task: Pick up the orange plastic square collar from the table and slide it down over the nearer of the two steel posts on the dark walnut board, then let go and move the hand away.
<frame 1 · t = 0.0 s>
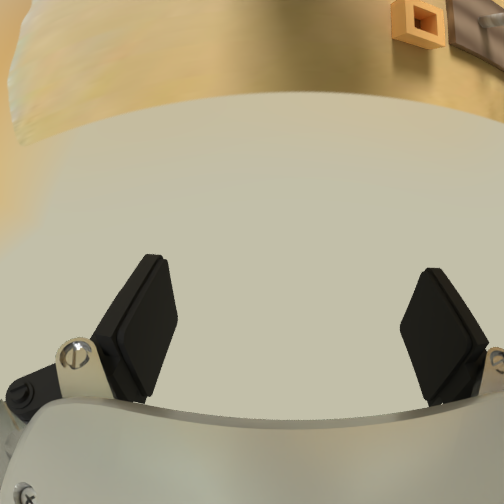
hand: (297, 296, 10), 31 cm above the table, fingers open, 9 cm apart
post board: (495, 35, 21), on the table
collar: (410, 26, 25), on the table
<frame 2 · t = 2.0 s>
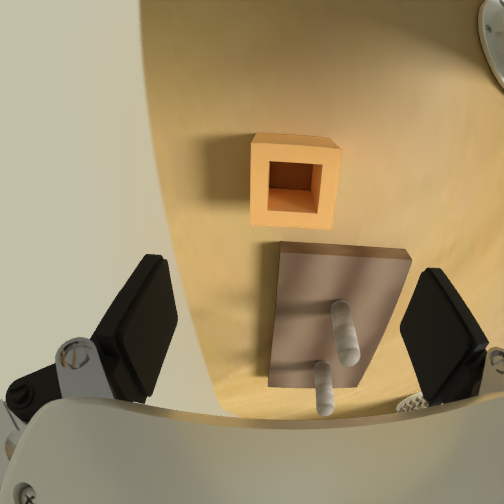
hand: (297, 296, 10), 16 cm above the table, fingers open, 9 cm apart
post board: (328, 326, 32), on the table
decorative candle: (415, 400, 43), on the table
collar: (291, 169, 23), on the table
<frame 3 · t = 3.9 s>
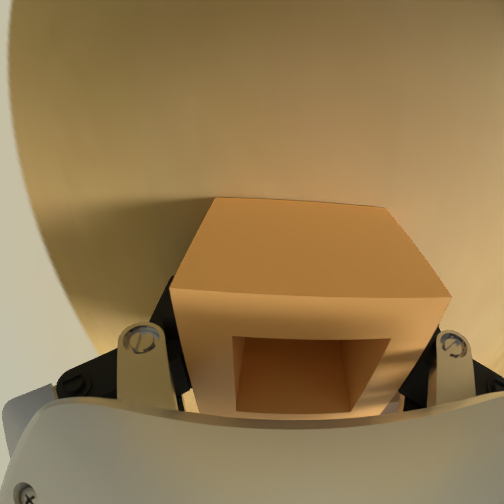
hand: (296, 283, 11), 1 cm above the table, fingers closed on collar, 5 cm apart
collar: (295, 274, 11), on the table, touching gripper
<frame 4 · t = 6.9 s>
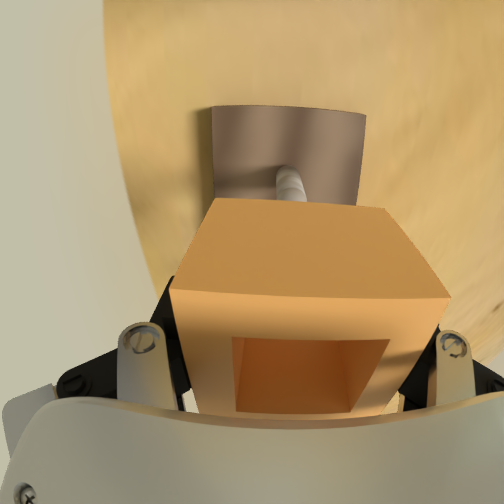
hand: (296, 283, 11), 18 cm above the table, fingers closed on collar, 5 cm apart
post board: (284, 217, 28), on the table
collar: (295, 274, 11), point 17 cm above the table, touching gripper
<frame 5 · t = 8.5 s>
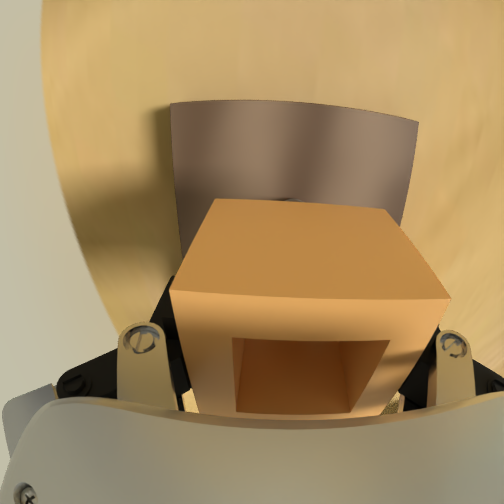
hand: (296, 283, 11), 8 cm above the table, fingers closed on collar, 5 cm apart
post board: (285, 268, 20), on the table
collar: (295, 275, 11), point 7 cm above the table, touching gripper
when the fingers open (4 cm above the table, at t = 9.8 s): collar drops 1 cm, resting on post board.
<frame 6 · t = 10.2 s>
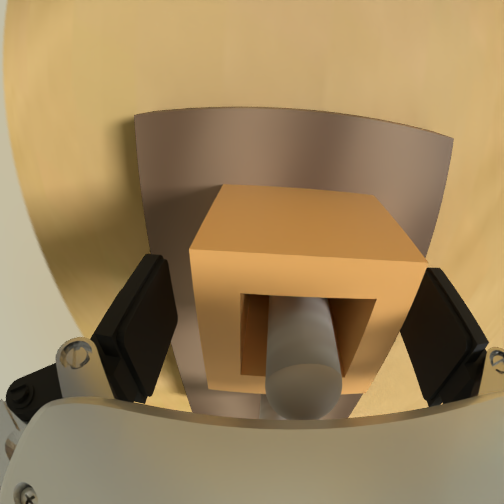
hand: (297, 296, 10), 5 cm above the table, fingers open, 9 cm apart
post board: (283, 310, 17), on the table
collar: (294, 255, 12), point 2 cm above the table, touching post board
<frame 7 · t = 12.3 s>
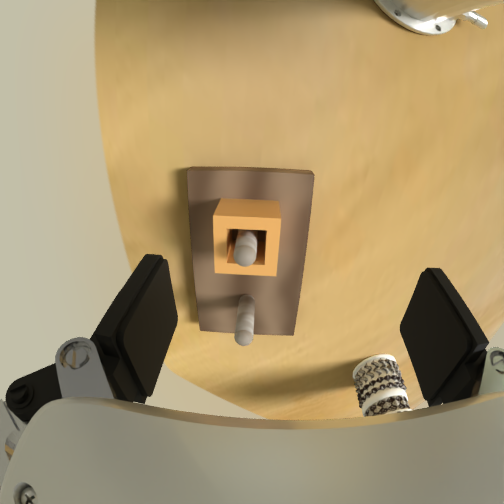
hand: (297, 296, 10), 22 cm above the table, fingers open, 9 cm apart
post board: (248, 257, 35), on the table
decorative candle: (374, 367, 45), on the table
collar: (248, 225, 31), point 2 cm above the table, touching post board
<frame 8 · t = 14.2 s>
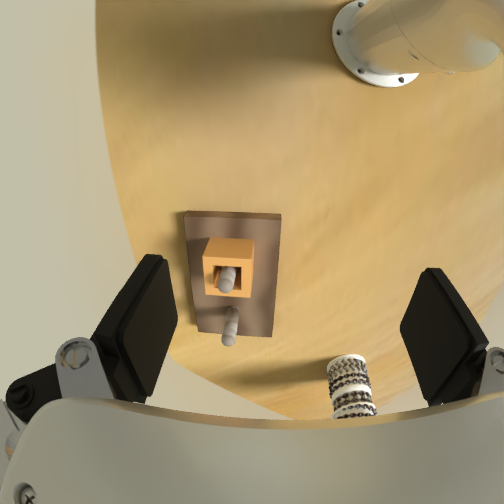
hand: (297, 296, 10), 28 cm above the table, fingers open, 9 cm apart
post board: (234, 277, 45), on the table
decorative candle: (345, 365, 55), on the table
collar: (232, 257, 40), point 2 cm above the table, touching post board
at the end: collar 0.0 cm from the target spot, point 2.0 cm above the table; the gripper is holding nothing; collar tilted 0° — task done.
